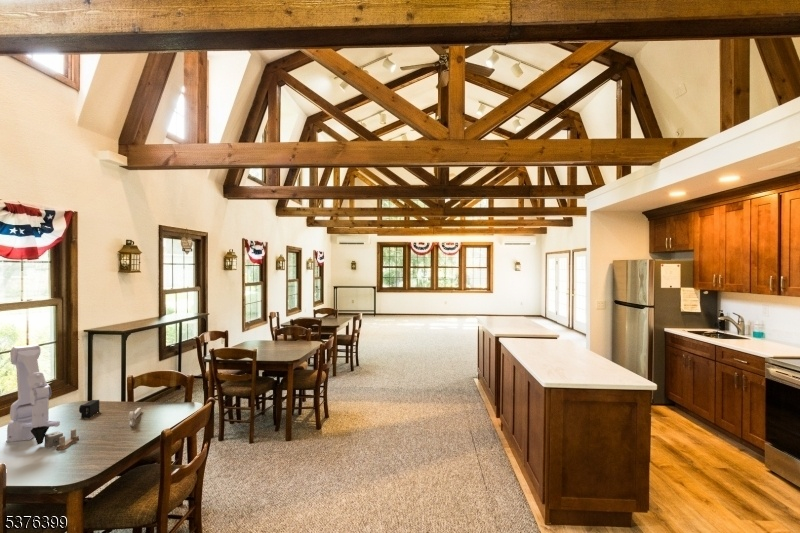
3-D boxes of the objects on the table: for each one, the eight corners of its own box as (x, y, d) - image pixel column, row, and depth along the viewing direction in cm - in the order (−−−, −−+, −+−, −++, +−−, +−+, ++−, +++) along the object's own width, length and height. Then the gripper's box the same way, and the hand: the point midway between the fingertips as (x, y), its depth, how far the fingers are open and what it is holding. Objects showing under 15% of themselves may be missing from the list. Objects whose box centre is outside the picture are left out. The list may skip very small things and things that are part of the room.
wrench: (141, 417, 237) (132, 428, 210) (137, 417, 237) (127, 429, 209) (141, 402, 238) (132, 412, 211) (137, 403, 238) (128, 412, 210)
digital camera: (88, 412, 237) (88, 400, 237) (99, 411, 238) (99, 399, 238) (78, 418, 227) (78, 405, 227) (90, 417, 228) (90, 405, 228)
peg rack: (56, 449, 187) (56, 438, 187) (71, 439, 198) (71, 428, 198) (64, 449, 187) (64, 438, 187) (78, 438, 199) (78, 428, 199)
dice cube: (44, 445, 191) (44, 434, 191) (57, 441, 195) (57, 431, 195) (49, 448, 189) (49, 436, 189) (62, 444, 193) (62, 433, 193)
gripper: (15, 417, 185) (15, 448, 185) (53, 415, 188) (53, 445, 188) (26, 412, 192) (26, 442, 192) (62, 410, 195) (62, 439, 195)
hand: (40, 443), depth 190 cm, fingers closed
